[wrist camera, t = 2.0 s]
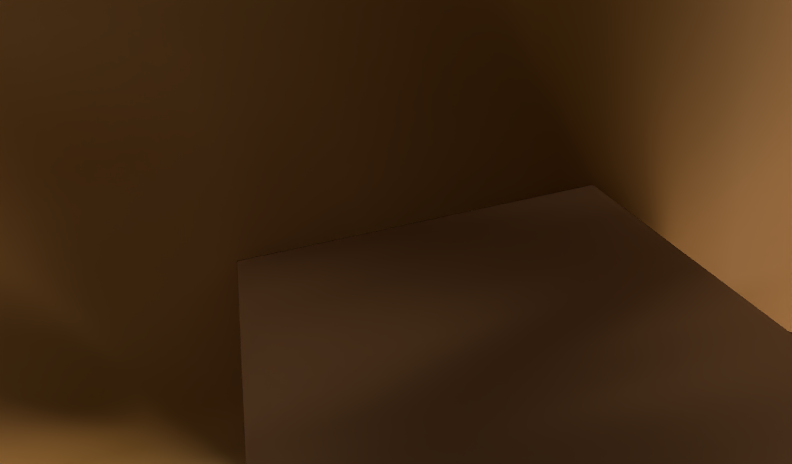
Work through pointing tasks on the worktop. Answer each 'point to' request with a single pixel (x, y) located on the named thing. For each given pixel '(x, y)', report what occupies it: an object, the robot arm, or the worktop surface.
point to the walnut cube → (508, 346)
